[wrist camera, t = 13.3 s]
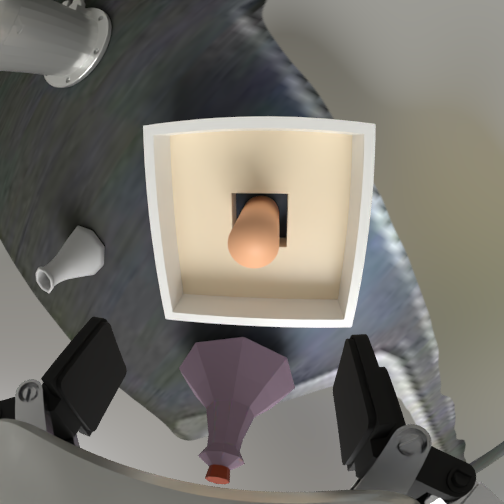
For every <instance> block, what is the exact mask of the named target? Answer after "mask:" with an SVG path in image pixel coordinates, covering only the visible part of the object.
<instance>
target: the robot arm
mask: <svg viewBox="0 0 504 504" xmlns="http://www.w3.org/2000/svg"><path fill="white" fill-rule="evenodd" d="M70 4H71V1H64V2H63V3H62V4H60V3H58V2H56V1H53V0H0V71H13V72H25V73H35V74H43V75H44V77H45V79H46V81H47V82H48V83H49V84H50V85H51V86H54V87H59V88H65V87H70V86H73V85H75V84H77V83H78V82H80V81H81V80H83V79H84V78H85V77H86V76H87V75H88V74H89V73H90V72H91V71H92V70H93V69H94V68H95V67H96V65H97V64H98V63H99V61H100V60H101V58H102V57H103V55H104V53H105V51H106V49H107V46H108V43H109V41H110V36H111V28H112V25H111V20H110V18H109V16H108V15H107V14H106V13H105V12H104V11H102V10H100V9H98V8H85V6H86V4H85V3H84V0H73V3H72V4H71V5H70ZM125 375H126V366H125V364H124V361H123V359H122V356H121V353H120V351H119V348H118V345H117V343H116V340H115V337H114V334H113V331H112V328H111V325H110V324H109V323H108V322H107V320H106V319H104V318H98V317H92V318H91V319H90V320H89V321H88V322H87V324H86V325H85V326H84V327H83V328H82V329H81V330H80V332H79V333H78V334H77V335H76V336H75V337H74V339H73V340H72V341H71V342H70V344H69V345H68V346H67V347H66V348H65V350H64V351H63V352H62V353H61V354H60V355H59V357H58V358H57V360H55V362H54V363H53V364H52V365H51V367H50V368H49V369H48V371H47V372H46V373H45V374H44V376H43V377H42V378H41V379H42V381H43V382H44V383H43V384H42V385H41V383H40V382H39V381H37V380H34V379H31V380H27V381H24V382H23V383H22V384H20V385H19V387H18V388H17V390H16V395H15V397H13V398H9V399H6V400H2V401H0V504H504V503H503V502H502V501H501V500H500V499H499V498H498V497H497V496H496V495H495V494H494V493H493V492H492V491H491V490H489V489H488V488H487V487H486V486H485V485H484V484H483V483H482V482H480V483H479V484H478V483H477V482H476V473H475V470H474V469H473V467H472V466H471V465H470V464H468V463H466V462H464V461H462V460H459V459H457V458H455V457H453V456H451V455H449V454H447V453H444V452H442V451H440V450H438V449H436V448H434V447H432V446H431V437H430V435H429V433H428V432H427V431H426V430H425V429H424V428H422V427H421V426H418V425H414V424H410V425H409V424H408V425H406V424H405V421H404V418H403V414H402V411H401V408H400V405H399V402H398V399H397V396H396V393H395V390H394V388H393V385H392V382H391V379H390V376H389V374H388V371H387V369H386V368H385V367H379V365H378V362H377V360H376V357H375V354H374V351H373V349H372V346H371V343H370V341H369V338H368V336H367V335H366V334H361V335H351V337H350V339H346V341H345V344H344V348H343V352H342V356H341V360H340V364H339V368H338V371H337V375H336V378H335V382H334V386H333V396H334V402H335V410H336V417H337V424H338V432H339V439H340V448H341V456H342V463H343V465H347V468H348V471H353V470H355V471H356V476H357V477H358V480H357V481H356V482H355V483H354V485H353V486H352V487H351V488H350V490H338V491H318V492H317V491H316V492H265V491H248V490H237V489H228V488H220V487H213V486H206V485H200V484H194V483H189V482H184V481H180V480H175V479H171V478H166V477H162V476H158V475H155V474H151V473H148V472H144V471H141V470H137V469H134V468H131V467H128V466H125V465H122V464H119V463H116V462H114V461H111V460H108V459H106V458H103V457H101V456H98V455H95V454H93V453H91V452H88V451H86V450H84V449H82V448H80V446H79V443H78V439H77V435H76V433H77V432H78V431H79V432H80V433H82V434H85V435H87V436H90V435H91V433H92V432H93V431H95V430H96V429H97V427H98V425H99V423H100V421H101V419H102V417H103V415H104V413H105V412H106V410H107V408H108V406H109V404H110V402H111V401H112V399H113V397H114V395H115V393H116V391H117V389H118V388H119V386H120V384H121V383H122V381H123V379H124V377H125Z"/></svg>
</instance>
